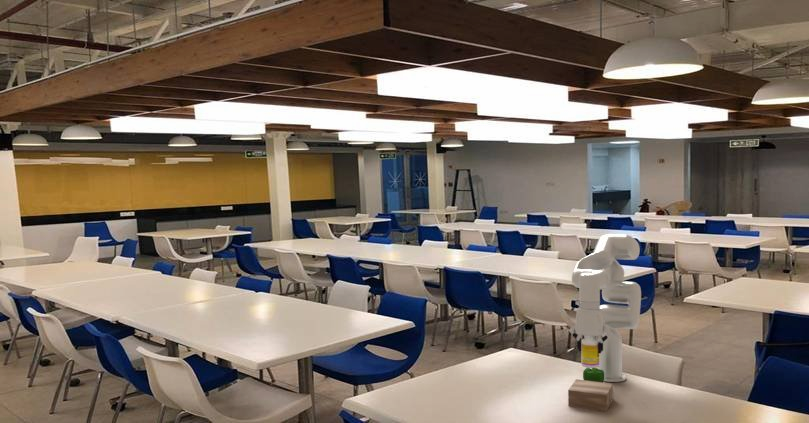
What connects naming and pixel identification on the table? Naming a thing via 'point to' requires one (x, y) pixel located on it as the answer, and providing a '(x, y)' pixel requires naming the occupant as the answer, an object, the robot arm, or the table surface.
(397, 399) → the table surface
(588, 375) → the bell pepper
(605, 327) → the robot arm
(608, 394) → the walnut block
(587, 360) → the supplement bottle
